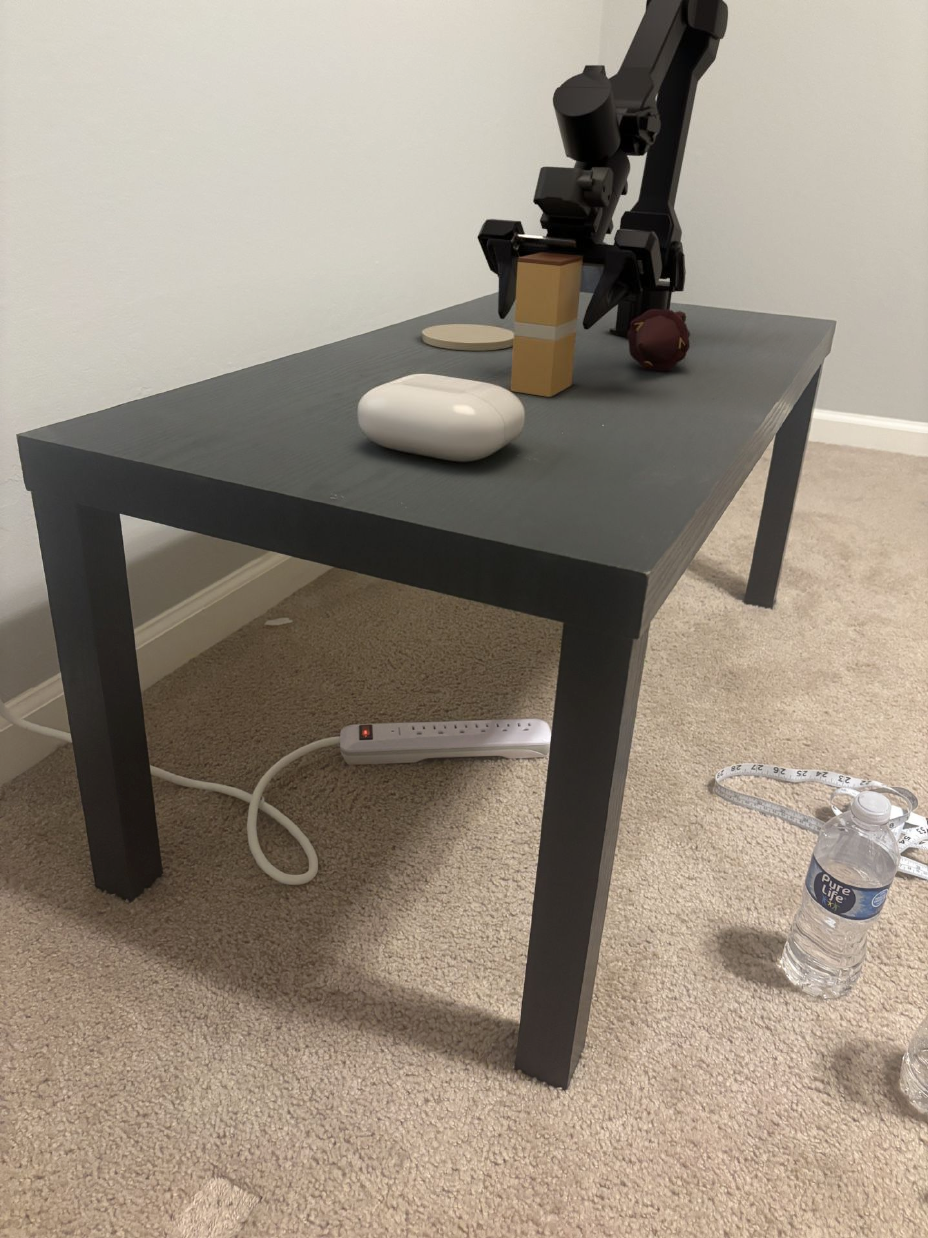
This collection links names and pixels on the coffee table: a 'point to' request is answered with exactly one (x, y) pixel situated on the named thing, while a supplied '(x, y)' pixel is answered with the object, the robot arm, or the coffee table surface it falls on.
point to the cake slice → (545, 322)
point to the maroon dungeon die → (659, 339)
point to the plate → (468, 337)
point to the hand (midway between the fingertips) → (542, 321)
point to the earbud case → (441, 417)
